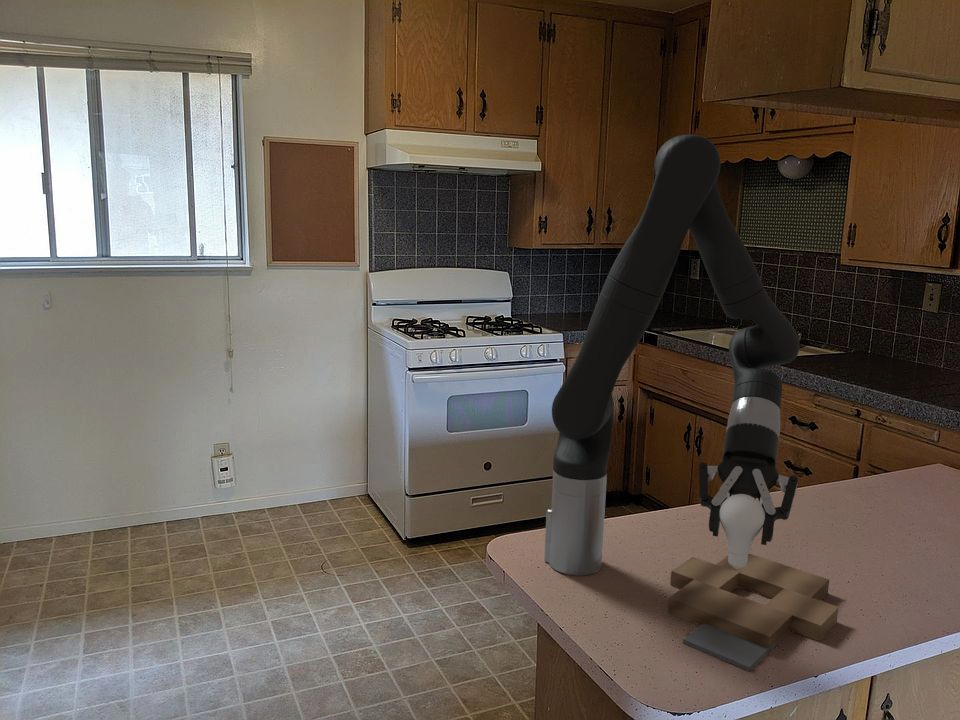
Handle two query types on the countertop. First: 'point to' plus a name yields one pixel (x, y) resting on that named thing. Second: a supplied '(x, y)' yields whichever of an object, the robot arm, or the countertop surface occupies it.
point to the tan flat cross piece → (744, 618)
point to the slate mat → (726, 646)
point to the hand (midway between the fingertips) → (739, 538)
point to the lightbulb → (741, 526)
